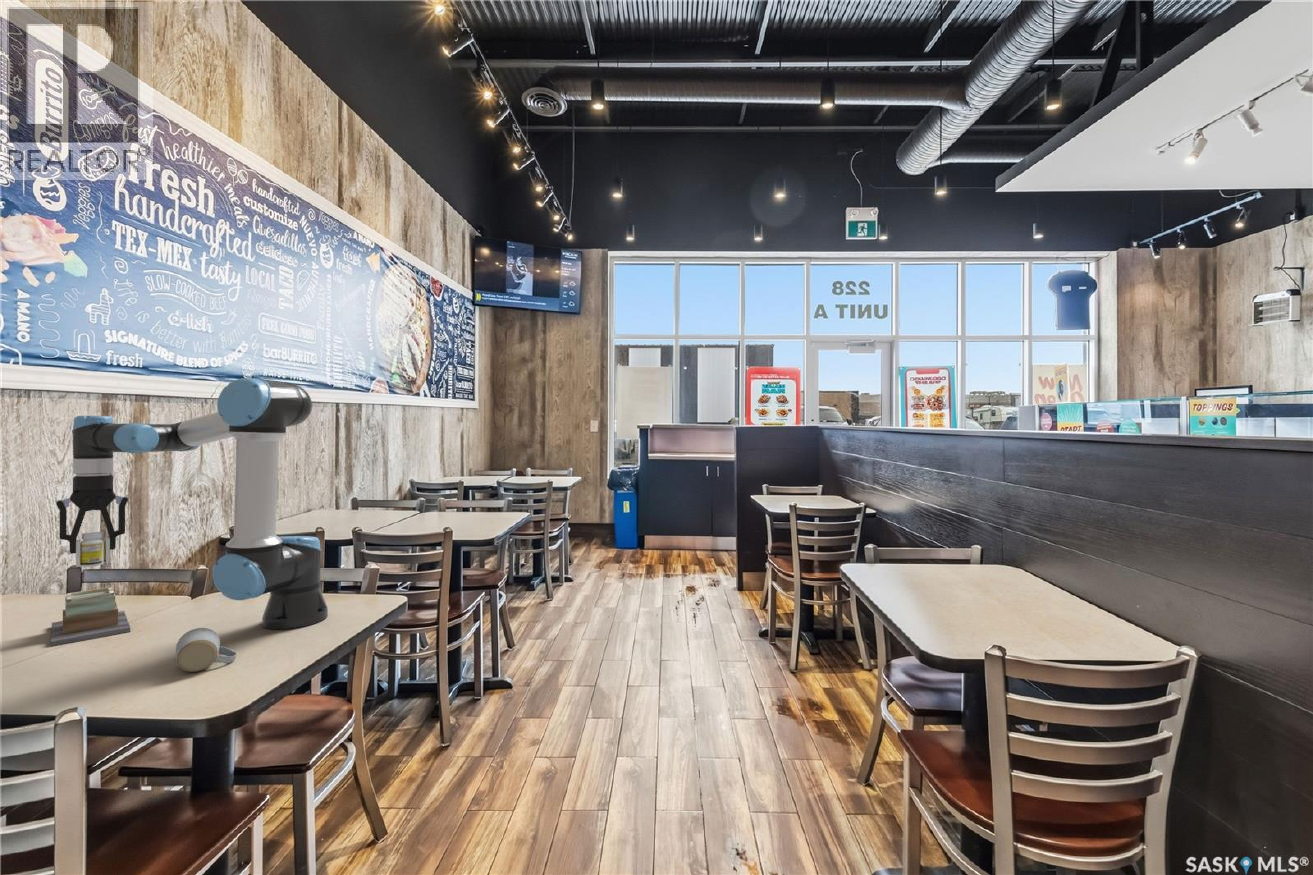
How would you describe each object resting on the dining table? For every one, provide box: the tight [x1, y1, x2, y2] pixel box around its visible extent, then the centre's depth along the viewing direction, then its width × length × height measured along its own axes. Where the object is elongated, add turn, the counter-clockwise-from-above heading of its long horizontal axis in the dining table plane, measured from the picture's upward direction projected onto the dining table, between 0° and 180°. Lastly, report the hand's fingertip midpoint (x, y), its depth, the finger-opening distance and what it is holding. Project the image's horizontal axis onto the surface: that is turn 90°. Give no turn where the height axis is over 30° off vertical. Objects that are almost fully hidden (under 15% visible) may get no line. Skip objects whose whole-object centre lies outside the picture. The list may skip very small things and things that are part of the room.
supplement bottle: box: [79, 531, 107, 568], centre depth 148 cm, size 5×5×8 cm
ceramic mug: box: [175, 627, 238, 673], centre depth 125 cm, size 11×8×8 cm
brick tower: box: [50, 586, 131, 647], centre depth 149 cm, size 20×14×10 cm
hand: (92, 563), depth 148 cm, fingers closed on supplement bottle, 5 cm apart
